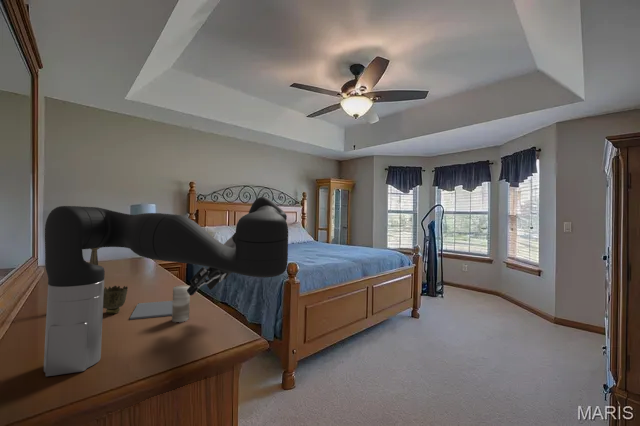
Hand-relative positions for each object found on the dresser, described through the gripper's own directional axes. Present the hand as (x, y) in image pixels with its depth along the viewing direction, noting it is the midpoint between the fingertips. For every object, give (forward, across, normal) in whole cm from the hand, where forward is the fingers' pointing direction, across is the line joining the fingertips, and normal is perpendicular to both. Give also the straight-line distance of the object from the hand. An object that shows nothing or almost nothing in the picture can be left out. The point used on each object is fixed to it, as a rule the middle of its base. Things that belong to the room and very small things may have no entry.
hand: (199, 290), depth 90 cm
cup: (+28, -4, +15) cm, 32 cm away
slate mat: (+20, +4, +7) cm, 22 cm away
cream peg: (+11, -1, -2) cm, 11 cm away
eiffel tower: (+36, -3, +24) cm, 44 cm away
